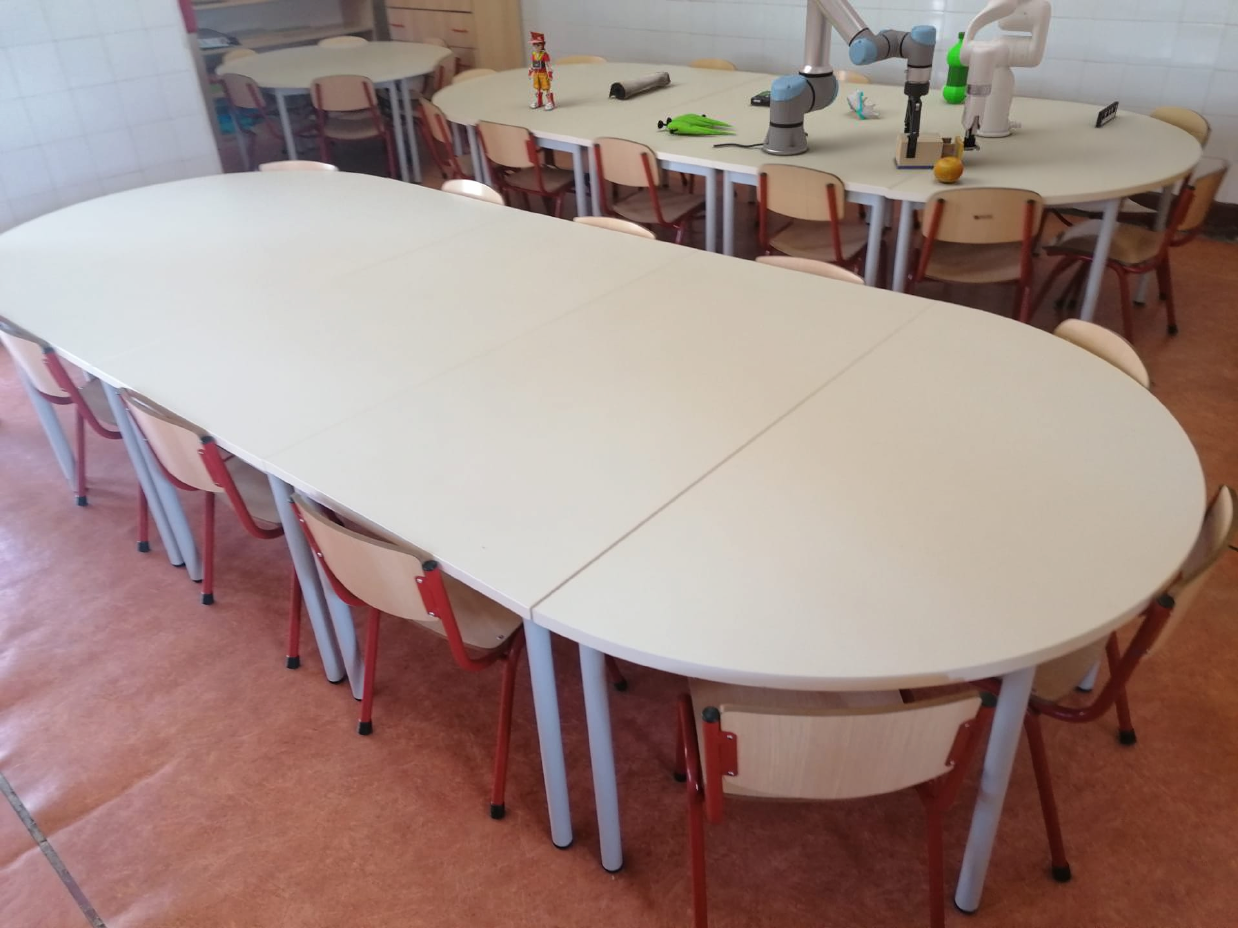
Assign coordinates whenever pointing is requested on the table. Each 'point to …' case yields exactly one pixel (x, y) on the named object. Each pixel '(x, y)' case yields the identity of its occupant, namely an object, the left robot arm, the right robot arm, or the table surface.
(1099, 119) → the midi keyboard
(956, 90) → the plastic bottle
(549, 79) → the toy
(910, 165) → the cabinet
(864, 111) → the anatomical model
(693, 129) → the toy
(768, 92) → the disk drive
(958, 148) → the drawer
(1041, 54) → the right robot arm
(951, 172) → the fruit
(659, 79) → the rolled mat
